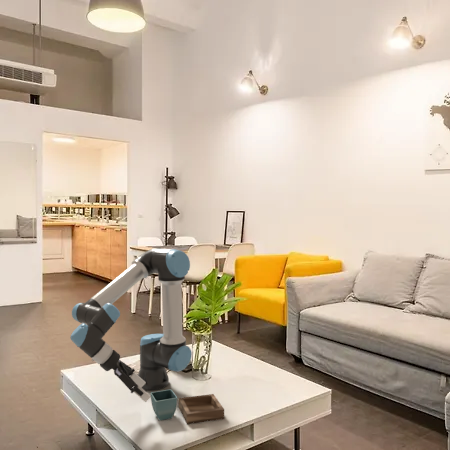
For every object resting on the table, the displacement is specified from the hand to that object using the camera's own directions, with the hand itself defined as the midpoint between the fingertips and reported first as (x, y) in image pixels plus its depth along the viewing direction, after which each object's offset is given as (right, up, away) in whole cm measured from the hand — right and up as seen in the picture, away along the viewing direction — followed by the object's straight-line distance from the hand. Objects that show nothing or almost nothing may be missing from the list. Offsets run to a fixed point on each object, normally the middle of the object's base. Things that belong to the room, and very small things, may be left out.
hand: (145, 391), depth 173 cm
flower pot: (+7, -11, +3) cm, 14 cm away
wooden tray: (+21, -11, +7) cm, 25 cm away
